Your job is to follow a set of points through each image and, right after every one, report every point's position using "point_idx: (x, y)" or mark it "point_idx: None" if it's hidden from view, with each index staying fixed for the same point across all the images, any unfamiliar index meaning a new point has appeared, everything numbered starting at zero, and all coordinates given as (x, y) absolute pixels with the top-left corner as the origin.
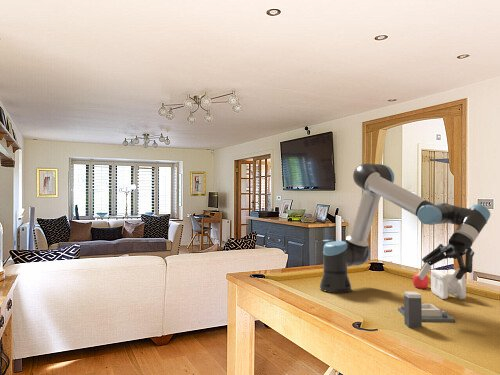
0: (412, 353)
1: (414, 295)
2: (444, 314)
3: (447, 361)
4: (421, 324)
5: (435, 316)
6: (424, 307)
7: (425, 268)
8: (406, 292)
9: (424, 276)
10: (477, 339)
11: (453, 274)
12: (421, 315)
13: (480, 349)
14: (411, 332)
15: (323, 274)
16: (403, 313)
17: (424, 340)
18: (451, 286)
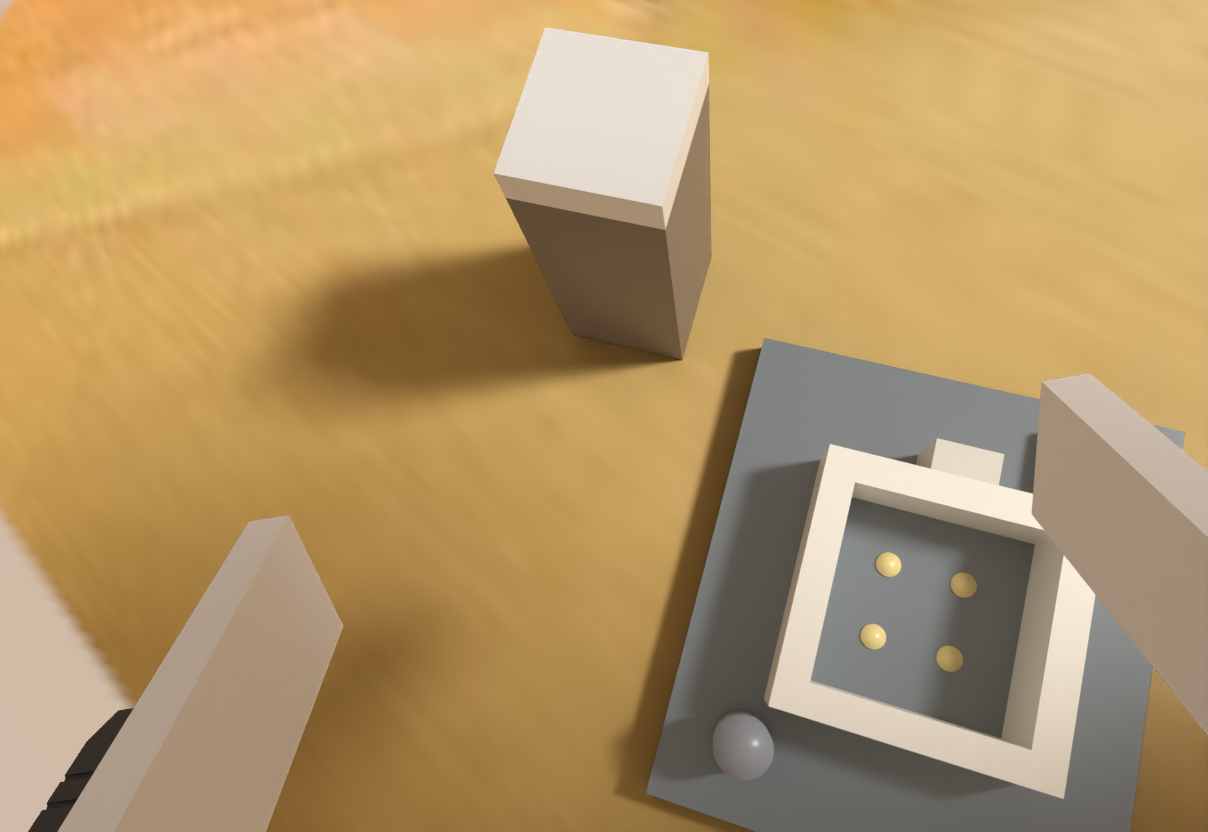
0: (201, 9)
1: (525, 101)
2: (721, 720)
3: (44, 130)
4: (567, 320)
5: (774, 640)
6: (1025, 675)
7: (1205, 586)
8: (648, 54)
9: (1081, 559)
10: None
11: (185, 675)
12: (551, 288)
13: (78, 458)
14: None
15: None
16: (972, 388)
17: (340, 193)
18: (328, 609)
